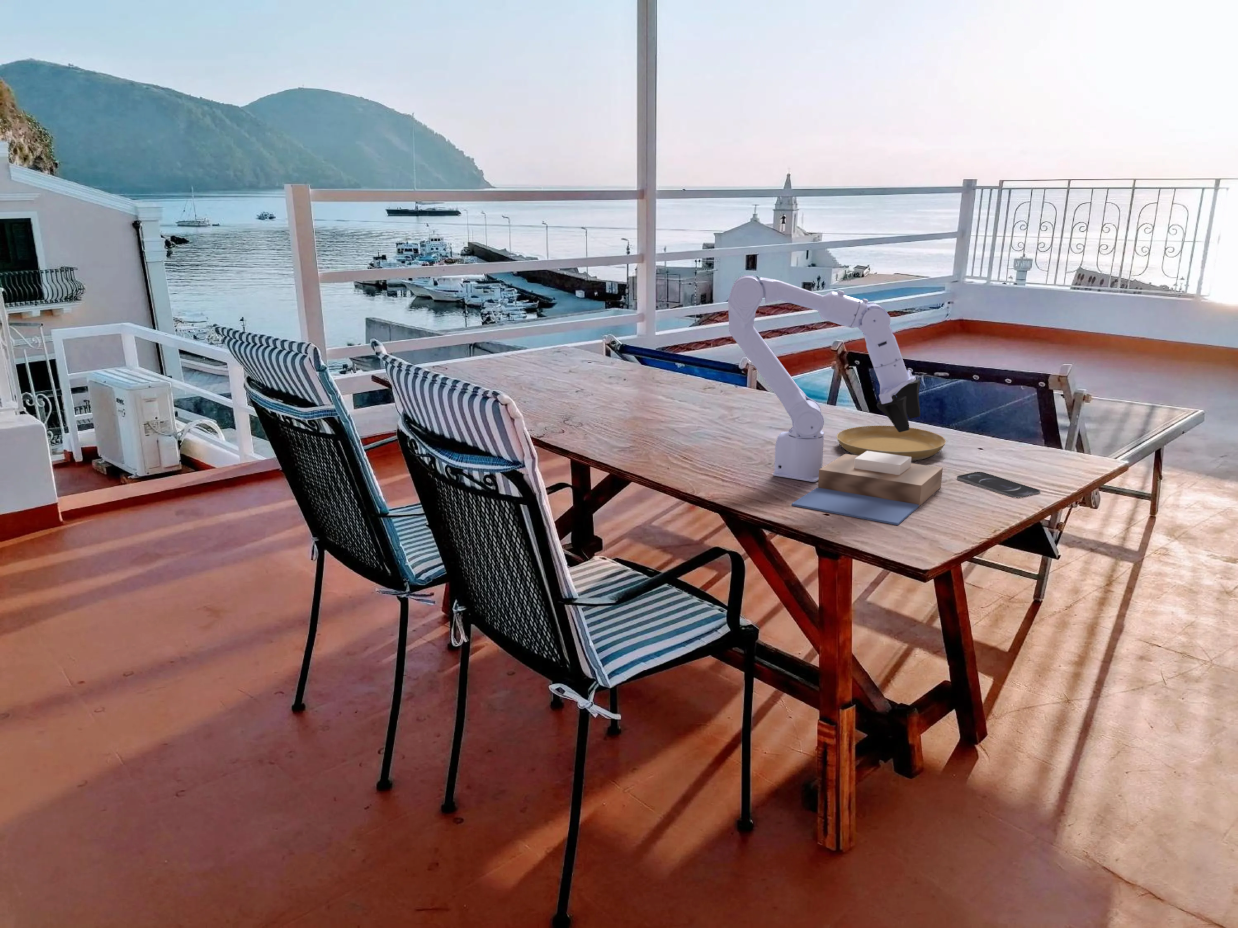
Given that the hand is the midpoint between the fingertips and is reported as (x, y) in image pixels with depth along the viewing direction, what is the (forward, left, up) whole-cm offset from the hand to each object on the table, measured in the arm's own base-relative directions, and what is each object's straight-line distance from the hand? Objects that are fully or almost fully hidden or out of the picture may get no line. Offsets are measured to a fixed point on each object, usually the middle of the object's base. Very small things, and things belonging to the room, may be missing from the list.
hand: (909, 423), depth 170 cm
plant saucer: (-10, +21, -12) cm, 26 cm away
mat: (-2, -23, -12) cm, 25 cm away
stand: (-2, -9, -12) cm, 15 cm away
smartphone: (+17, +5, -12) cm, 21 cm away
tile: (-2, -8, -8) cm, 11 cm away
